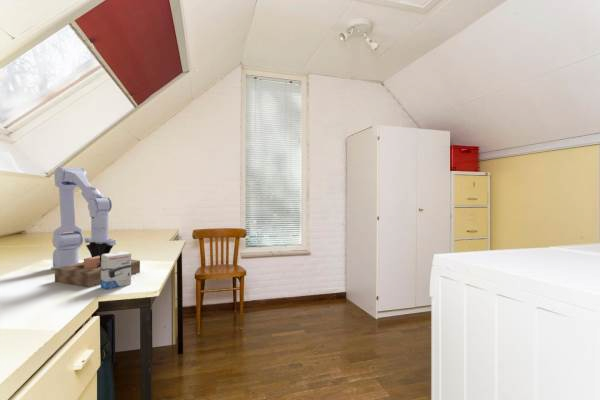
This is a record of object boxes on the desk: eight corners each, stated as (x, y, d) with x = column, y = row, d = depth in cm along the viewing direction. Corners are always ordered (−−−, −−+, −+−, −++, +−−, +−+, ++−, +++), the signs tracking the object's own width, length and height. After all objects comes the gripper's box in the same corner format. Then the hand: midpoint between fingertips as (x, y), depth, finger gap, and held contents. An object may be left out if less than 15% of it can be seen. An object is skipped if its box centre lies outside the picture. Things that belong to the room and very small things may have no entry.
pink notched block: (83, 274, 118) (83, 258, 118) (107, 268, 128) (107, 254, 128) (90, 275, 117) (90, 259, 117) (113, 269, 127) (113, 254, 127)
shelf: (54, 281, 115) (54, 268, 115) (108, 268, 136) (108, 256, 136) (89, 287, 110) (89, 273, 109) (139, 272, 130) (139, 260, 130)
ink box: (106, 289, 107) (106, 256, 107) (100, 287, 110) (100, 254, 110) (131, 284, 114) (131, 252, 114) (125, 281, 117) (125, 250, 116)
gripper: (76, 228, 121) (76, 262, 121) (103, 230, 116) (103, 265, 117) (94, 226, 128) (94, 258, 128) (120, 228, 123) (120, 261, 123)
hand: (99, 261), depth 123 cm, fingers closed on pink notched block, 3 cm apart
